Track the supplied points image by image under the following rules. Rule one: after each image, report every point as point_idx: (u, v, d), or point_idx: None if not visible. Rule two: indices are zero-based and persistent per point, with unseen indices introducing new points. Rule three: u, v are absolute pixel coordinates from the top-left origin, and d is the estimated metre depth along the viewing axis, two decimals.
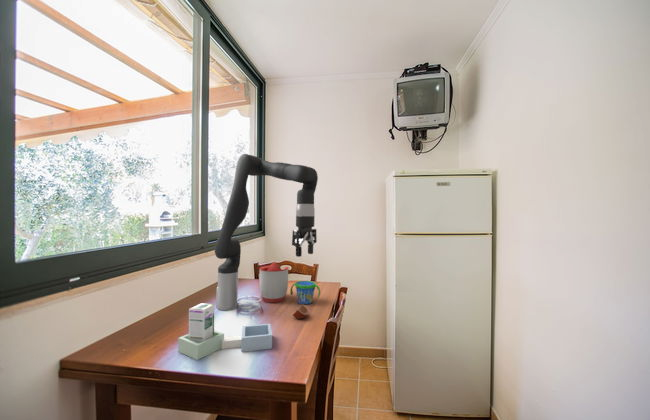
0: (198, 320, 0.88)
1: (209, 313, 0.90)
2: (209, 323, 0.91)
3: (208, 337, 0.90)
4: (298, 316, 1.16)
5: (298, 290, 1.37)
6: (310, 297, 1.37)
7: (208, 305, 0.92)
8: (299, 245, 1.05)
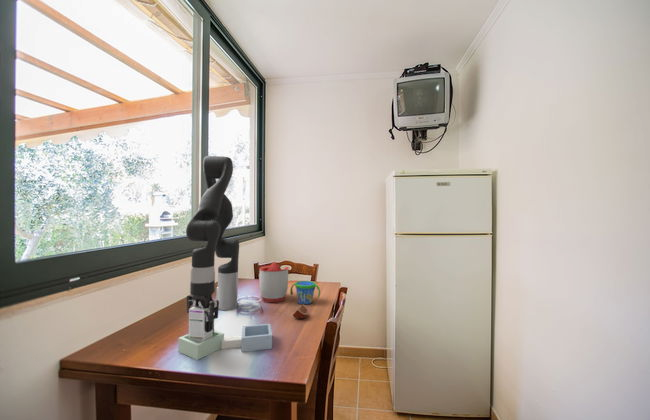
0: (198, 320, 0.88)
1: None
2: None
3: (208, 337, 0.90)
4: (298, 316, 1.16)
5: (298, 290, 1.37)
6: (310, 297, 1.37)
7: None
8: None
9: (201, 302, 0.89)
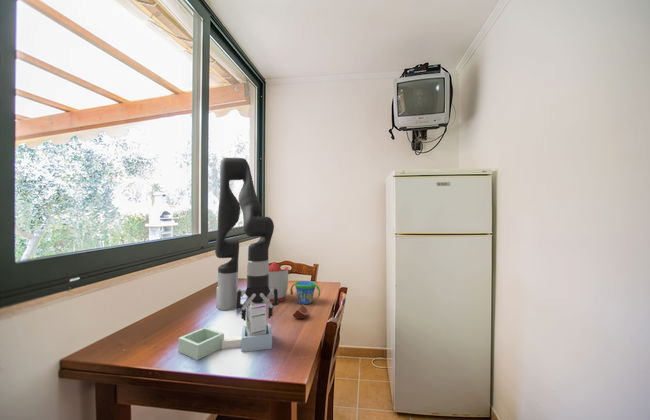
0: (260, 314, 0.94)
1: None
2: None
3: None
4: (298, 316, 1.16)
5: (298, 290, 1.37)
6: (310, 297, 1.37)
7: None
8: None
9: (262, 293, 0.95)
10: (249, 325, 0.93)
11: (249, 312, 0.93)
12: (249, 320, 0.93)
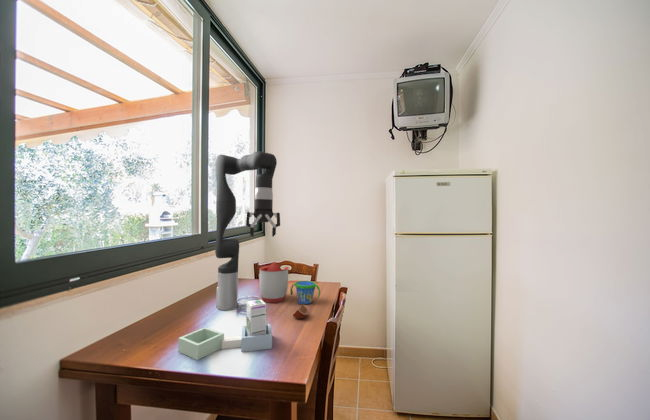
0: (260, 315, 0.94)
1: None
2: None
3: None
4: (298, 316, 1.16)
5: (298, 290, 1.37)
6: (310, 297, 1.37)
7: (260, 300, 0.97)
8: None
9: (267, 214, 1.15)
10: (249, 325, 0.93)
11: (249, 312, 0.93)
12: (249, 320, 0.93)
